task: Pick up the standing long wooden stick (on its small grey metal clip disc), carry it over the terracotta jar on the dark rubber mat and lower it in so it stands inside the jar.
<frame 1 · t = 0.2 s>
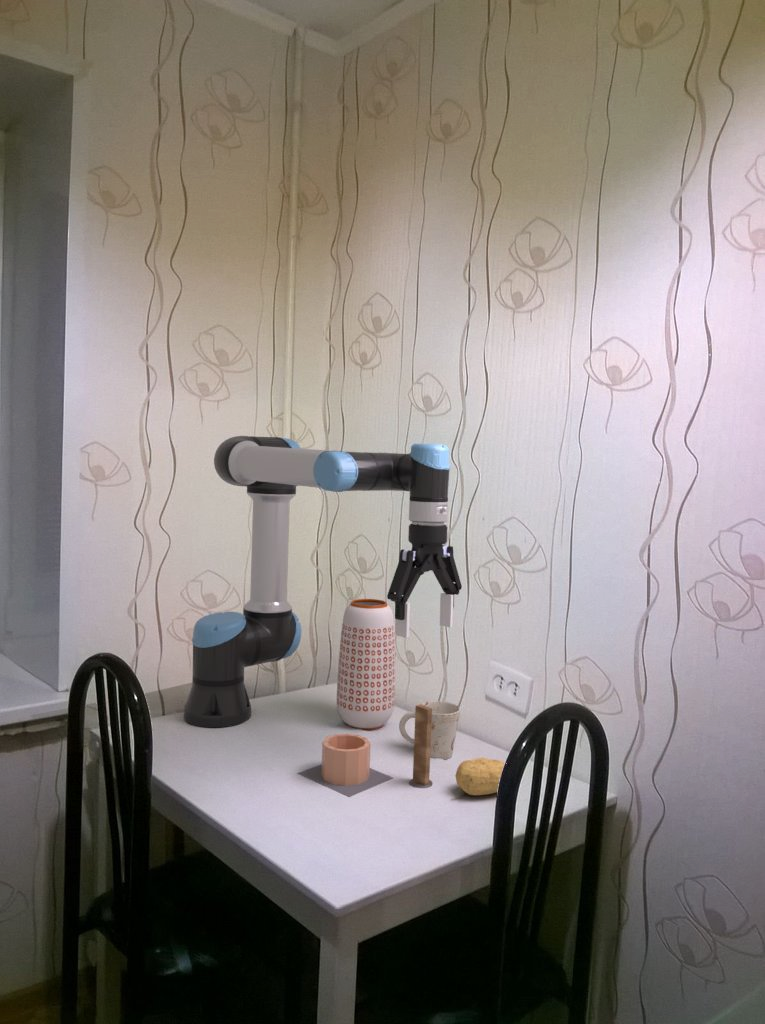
hand: (424, 631, 152), 27 cm above the table, fingers open, 13 cm apart
mug: (427, 754, 161), on the table
potato: (483, 794, 143), on the table
jar: (345, 775, 147), resting on mat
long wooden stick: (420, 785, 145), on the table
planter: (364, 724, 177), on the table
mat: (345, 777, 147), on the table
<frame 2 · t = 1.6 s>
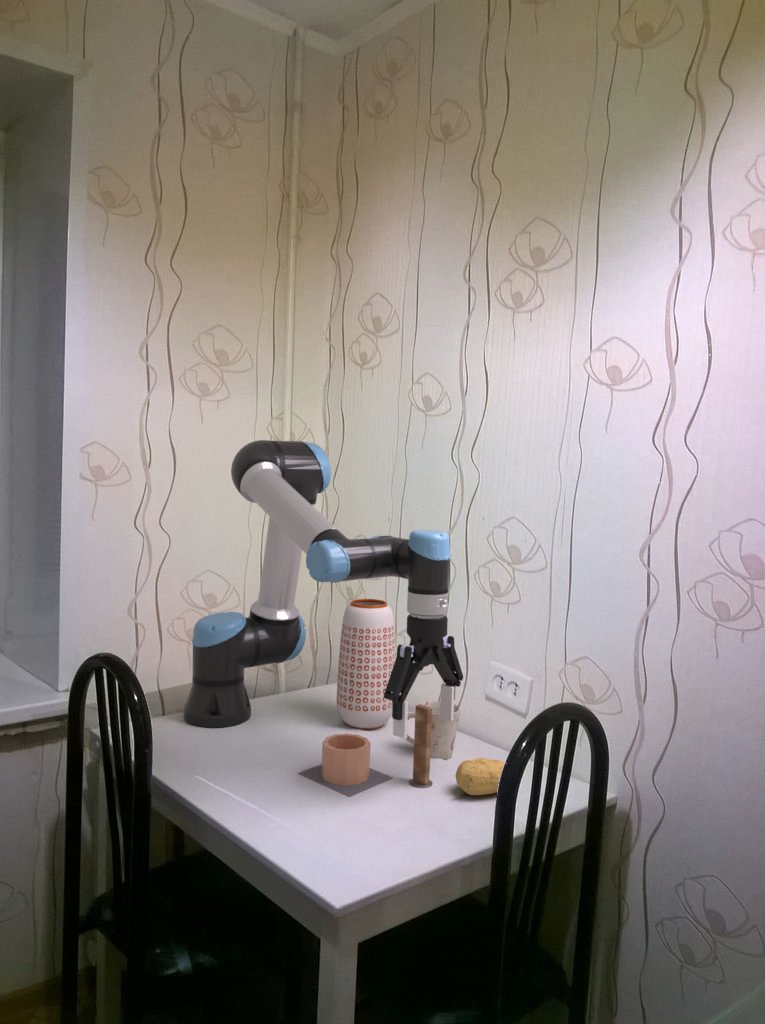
hand: (424, 727, 144), 11 cm above the table, fingers open, 13 cm apart
nothing on the table moved.
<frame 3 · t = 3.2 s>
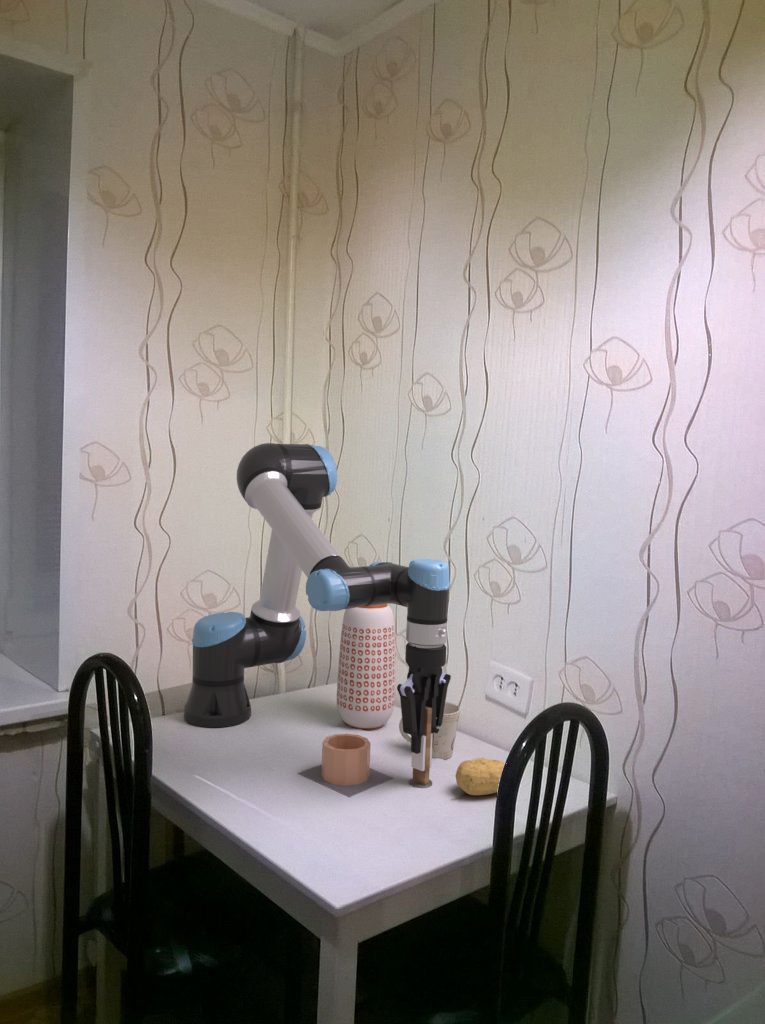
hand: (421, 766, 145), 3 cm above the table, fingers closed on long wooden stick, 1 cm apart
long wooden stick: (420, 784, 145), on the table, touching gripper
everything else where it was.
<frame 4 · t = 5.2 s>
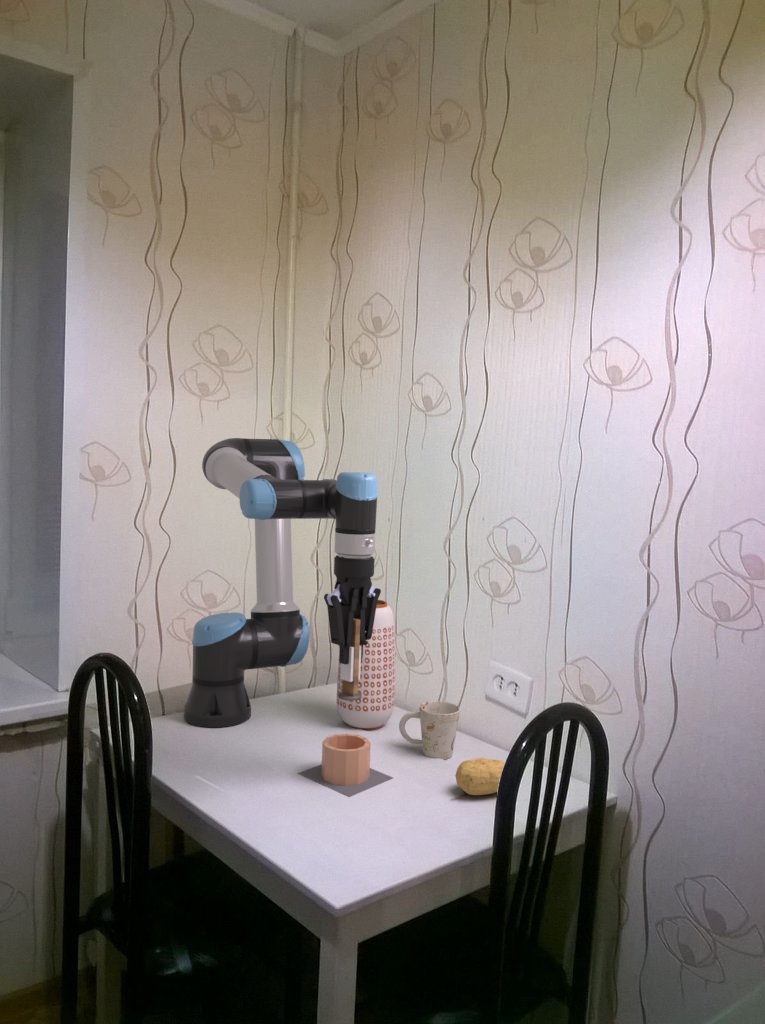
hand: (350, 678, 146), 19 cm above the table, fingers closed on long wooden stick
long wooden stick: (349, 696, 146), point 16 cm above the table, touching gripper
everything else where it was.
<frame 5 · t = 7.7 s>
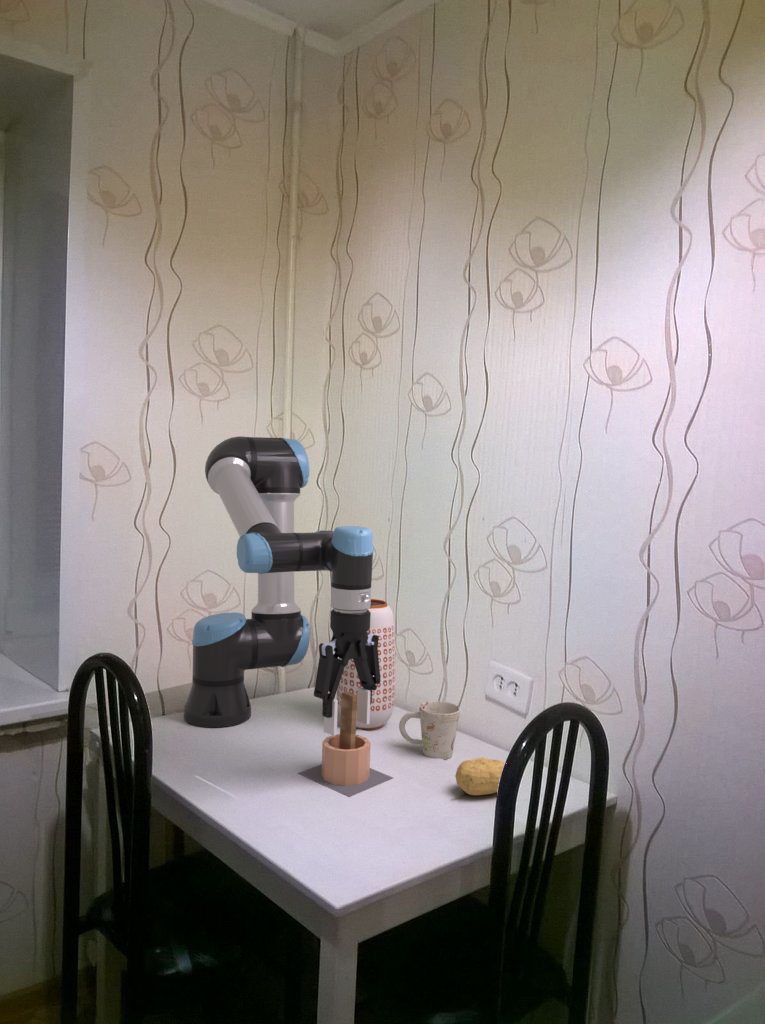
hand: (347, 727, 147), 10 cm above the table, fingers open, 8 cm apart
long wooden stick: (346, 770, 148), point 1 cm above the table, touching jar
everything else where it was.
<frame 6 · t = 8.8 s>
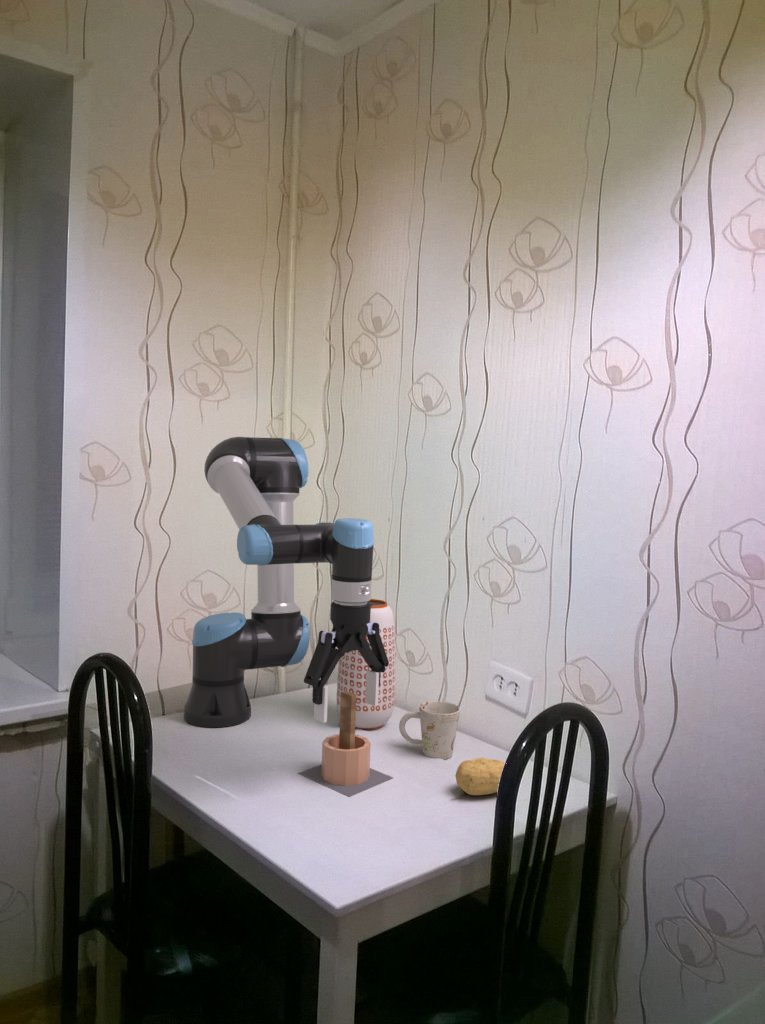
hand: (346, 712, 147), 13 cm above the table, fingers open, 13 cm apart
nothing on the table moved.
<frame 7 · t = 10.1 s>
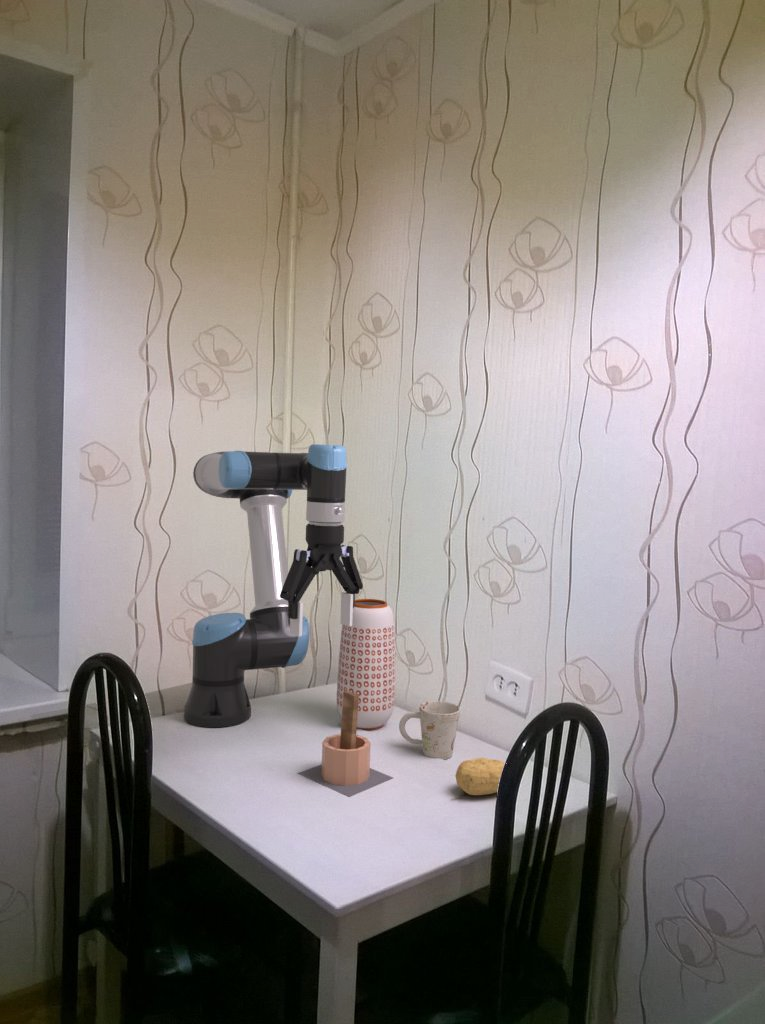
hand: (321, 629, 154), 26 cm above the table, fingers open, 13 cm apart
nothing on the table moved.
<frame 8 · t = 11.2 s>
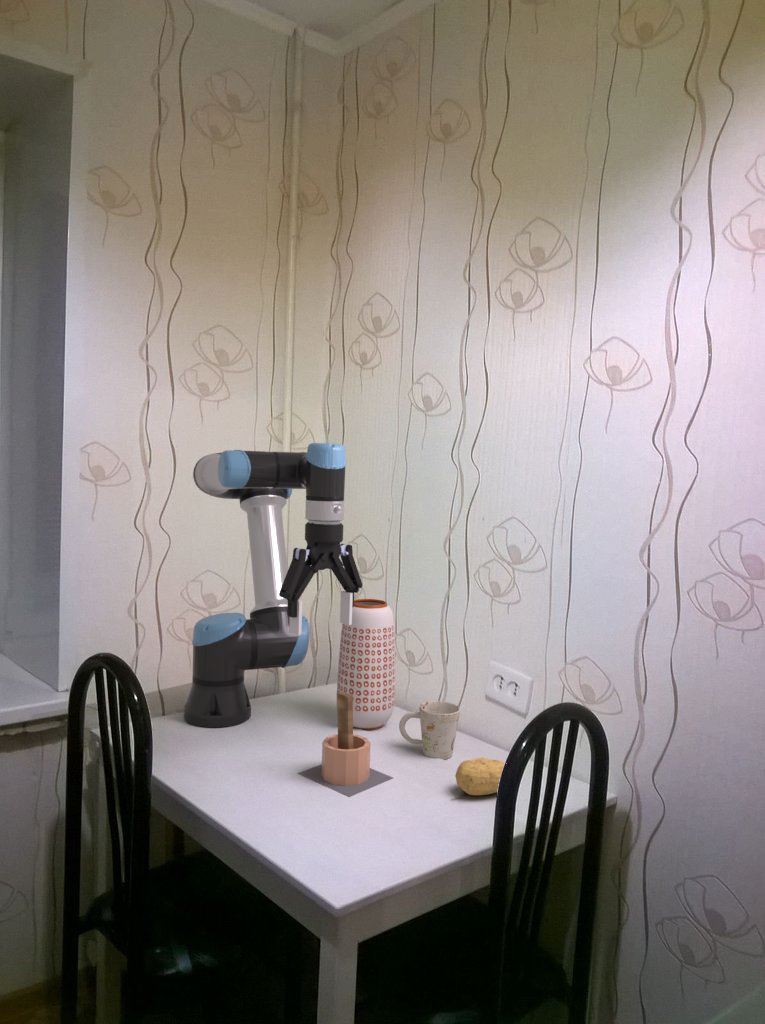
hand: (321, 628, 154), 27 cm above the table, fingers open, 13 cm apart
at the end: long wooden stick 0.2 cm off-centre on the jar, point 0.8 cm above the jar's base; long wooden stick tilted 1°; the gripper is holding nothing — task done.
